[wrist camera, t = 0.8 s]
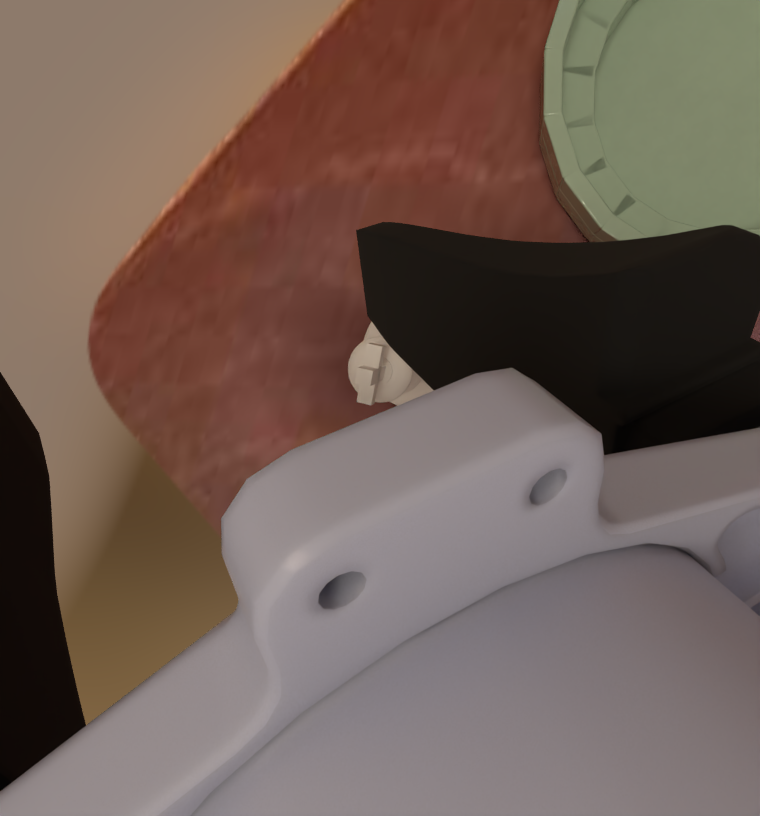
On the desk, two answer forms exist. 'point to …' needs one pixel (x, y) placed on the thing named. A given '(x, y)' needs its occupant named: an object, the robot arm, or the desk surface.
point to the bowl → (653, 115)
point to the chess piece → (382, 373)
